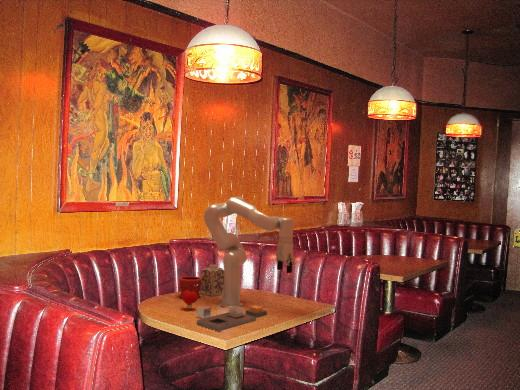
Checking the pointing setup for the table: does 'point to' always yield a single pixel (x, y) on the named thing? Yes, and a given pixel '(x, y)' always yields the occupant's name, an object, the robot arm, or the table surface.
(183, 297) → the light bulb
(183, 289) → the plant pot
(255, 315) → the button housing
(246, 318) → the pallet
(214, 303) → the table surface
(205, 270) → the decorative jar
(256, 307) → the button
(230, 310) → the seated billet
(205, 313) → the block
